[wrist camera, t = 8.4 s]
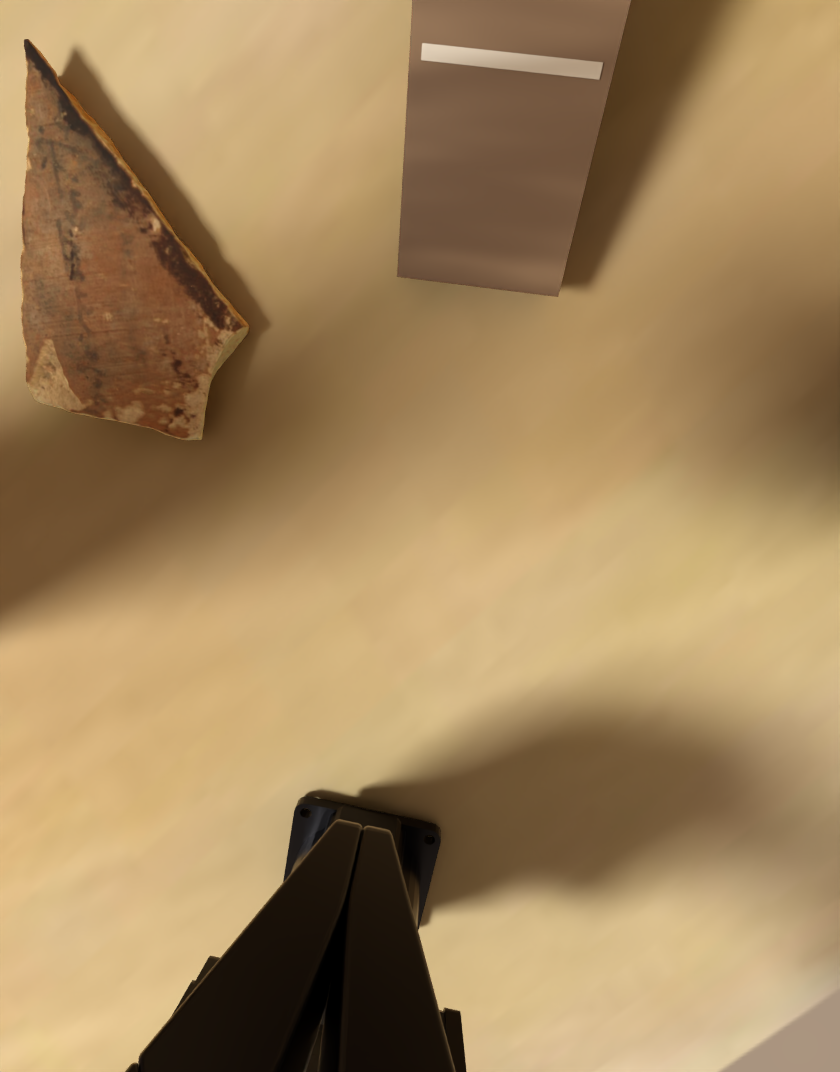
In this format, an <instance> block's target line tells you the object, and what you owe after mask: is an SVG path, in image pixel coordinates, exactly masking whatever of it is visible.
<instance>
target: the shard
mask: <svg viewBox="0 0 840 1072" xmlns="http://www.w3.org/2000/svg"><path fill="white" fill-rule="evenodd" d="M24 48H25V52H26V66H27V79H26V102H25V110H26V112H25V115H26V126H27V131H28V138H29V142H28V147H27V170H26V179H25V193H24V196H23V211H22V235H23V251H22V255H21V285H22V293H23V294H22V306H21V315H22V327H23V340H24V344H25V346H26V361H27V363H26V367H27V370H26V382H27V386H28V388H29V390H30V392H31V394H32V395H33V397H34V399H35V400H36V401H37V402H39V403H43V404H45V405H48V406H55V407H57V408H62V409H64V410H66V411H68V412H70V413H75V414H81V415H86V416H90V417H95V418H100V419H106V420H114V421H118V422H123V423H127V424H131V425H137V426H142V427H146V428H151V429H155V430H157V431H159V432H161V433H163V434H165V435H168V436H172V437H175V438H177V439H182V440H187V441H188V440H201V439H202V436H203V428H204V419H205V410H206V406H207V401H208V393H209V389H210V384H211V380H212V379H213V377H214V376H215V374H216V372H217V370H218V369H219V368H220V367H221V366H222V364H223V363H224V362H225V361H226V360H227V358H228V357H229V356H230V355H231V354H232V353H233V352H234V350H235V349H236V347H237V345H238V344H240V343H241V342H242V340H243V339H244V337H245V336H246V335H247V334H248V332H249V325H248V323H247V322H246V321H245V320H244V319H243V318H242V316H241V315H240V314H239V313H238V312H237V311H236V310H235V309H234V308H233V306H232V305H231V304H230V302H229V301H228V300H227V299H226V298H225V297H224V296H223V295H222V294H221V292H220V291H219V290H218V289H217V288H216V287H215V286H214V284H213V283H212V281H211V279H210V278H209V277H208V275H207V274H206V272H205V270H204V268H203V266H202V264H201V263H200V262H199V261H198V260H197V259H196V257H195V256H194V255H193V254H192V253H191V251H190V250H189V249H188V248H187V247H186V246H185V245H184V244H183V243H182V242H181V241H180V240H179V239H178V237H177V236H176V234H175V233H174V231H173V229H172V227H171V226H170V224H169V223H168V222H167V220H166V219H165V218H164V216H163V214H162V213H161V212H160V210H159V208H158V207H157V205H156V203H155V202H154V200H153V199H152V197H151V196H150V195H149V193H148V191H147V190H146V189H145V188H144V186H143V185H142V184H141V183H140V182H139V180H138V178H137V176H136V175H135V174H134V173H133V172H132V170H131V168H130V167H129V166H128V165H127V163H126V162H125V161H124V160H123V158H122V157H121V155H120V152H119V151H118V150H117V149H116V147H115V146H114V144H113V142H112V140H111V139H110V138H109V137H108V136H107V135H106V133H105V132H104V131H103V129H102V128H101V127H100V126H99V125H98V124H97V122H96V121H95V120H94V119H93V118H92V117H91V116H89V115H88V114H87V113H86V112H85V111H84V109H83V108H82V107H81V105H80V104H79V102H78V101H77V99H76V98H75V96H74V95H72V94H71V93H70V92H68V91H67V90H66V89H65V88H64V87H63V86H62V85H61V84H60V83H59V79H58V77H57V74H56V72H55V71H54V69H53V68H52V67H51V66H50V64H49V63H48V61H47V60H46V59H45V57H44V56H43V55H42V53H41V52H40V51H39V50H38V49H37V48H36V47H35V46H34V45H33V44H32V43H31V41H30V40H29V39H25V40H24Z"/></svg>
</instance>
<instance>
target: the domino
mask: <svg viewBox="0 0 840 1072" xmlns="http://www.w3.org/2000/svg"><path fill="white" fill-rule="evenodd" d="M630 3H631V0H412V18H411V37H410V55H409V73H408V91H407V109H406V127H405V145H404V164H403V182H402V200H401V218H400V236H399V254H398V273H397V277H404V278H412V279H420V280H428V281H436V282H444V283H452V284H460V285H468V286H476V287H484V288H492V289H500V290H508V291H516V292H524V293H532V294H540V295H548V296H556V297H558V295H559V291H560V287H561V283H562V279H563V275H564V271H565V267H566V263H567V259H568V255H569V251H570V247H571V243H572V238H573V234H574V230H575V226H576V222H577V218H578V214H579V210H580V206H581V202H582V198H583V194H584V190H585V186H586V182H587V178H588V174H589V169H590V165H591V161H592V157H593V153H594V149H595V145H596V141H597V137H598V133H599V129H600V125H601V121H602V117H603V113H604V109H605V105H606V100H607V96H608V92H609V88H610V84H611V80H612V76H613V72H614V68H615V64H616V60H617V56H618V52H619V48H620V44H621V40H622V36H623V31H624V27H625V23H626V19H627V15H628V11H629V7H630Z"/></svg>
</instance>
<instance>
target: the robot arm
mask: <svg viewBox="0 0 840 1072" xmlns="http://www.w3.org/2000/svg"><path fill="white" fill-rule="evenodd" d="M304 808H307V809H309V810H310V811H307V810H305V809H304ZM426 835H431V836H432V837H428V836H426ZM440 842H441V830H440V828H439V827H438V826H437V825H436V824H433V823H429V822H425V821H420V820H416V819H411V818H406V817H402V816H397V815H392V814H388V813H383V812H378V811H374V810H369V809H364V808H360V807H355V806H351V805H346V804H341V803H337V802H332V801H327V800H323V799H318V798H313V797H302V798H301V799H300V800H299V801H298V803H297V806H296V808H295V811H294V817H293V823H292V830H291V836H290V843H289V849H288V855H287V862H286V868H285V875H284V881H283V883H282V885H281V886H280V887H279V888H278V889H277V891H276V892H275V893H274V894H273V895H272V897H271V898H270V899H269V900H268V901H267V903H266V904H265V905H264V906H263V907H262V909H261V910H260V911H259V912H258V913H257V915H256V916H255V917H254V918H253V919H252V921H251V922H250V923H249V924H248V925H247V927H246V928H245V929H244V930H243V931H242V933H241V934H240V935H239V936H238V937H237V939H236V940H235V941H234V942H233V943H232V945H231V946H230V947H229V948H228V949H227V951H226V952H225V953H224V954H223V955H222V957H221V958H219V957H214V956H210V957H209V958H208V960H207V962H206V963H205V965H204V967H203V969H202V970H201V972H200V974H199V976H198V977H197V979H196V981H194V980H192V982H191V983H190V985H189V987H188V989H187V990H186V992H185V994H184V996H183V997H182V999H181V1001H180V1003H179V1004H178V1006H177V1008H176V1010H175V1011H174V1013H173V1015H172V1017H171V1018H170V1019H169V1020H168V1021H167V1023H166V1024H165V1025H164V1026H163V1027H162V1029H161V1030H160V1031H159V1032H158V1033H157V1034H156V1036H155V1037H154V1038H153V1039H152V1040H151V1042H150V1043H149V1044H148V1045H147V1046H146V1048H145V1049H144V1050H143V1051H142V1052H141V1054H140V1056H139V1061H138V1063H132V1064H131V1065H130V1066H129V1068H128V1069H127V1070H126V1071H125V1072H466V1063H465V1053H464V1043H463V1033H462V1023H461V1013H460V1011H457V1010H453V1009H448V1008H444V1010H443V1011H441V1010H439V1008H438V1004H437V1000H436V997H435V993H434V989H433V985H432V982H431V978H430V974H429V970H428V967H427V963H426V959H425V955H424V952H423V948H422V944H421V940H420V937H419V933H418V929H419V925H420V921H421V917H422V914H423V910H424V906H425V902H426V898H427V894H428V890H429V886H430V882H431V878H432V874H433V870H434V866H435V862H436V858H437V854H438V850H439V846H440Z"/></svg>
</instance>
